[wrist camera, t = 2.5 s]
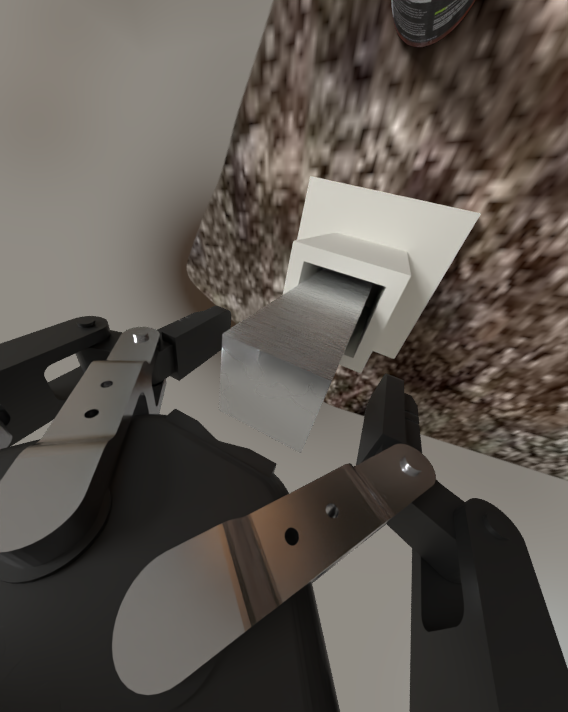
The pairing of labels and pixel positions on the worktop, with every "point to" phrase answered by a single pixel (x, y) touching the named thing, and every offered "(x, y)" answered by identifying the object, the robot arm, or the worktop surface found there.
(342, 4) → the worktop surface
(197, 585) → the robot arm
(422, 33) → the supplement bottle
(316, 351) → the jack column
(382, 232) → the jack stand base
